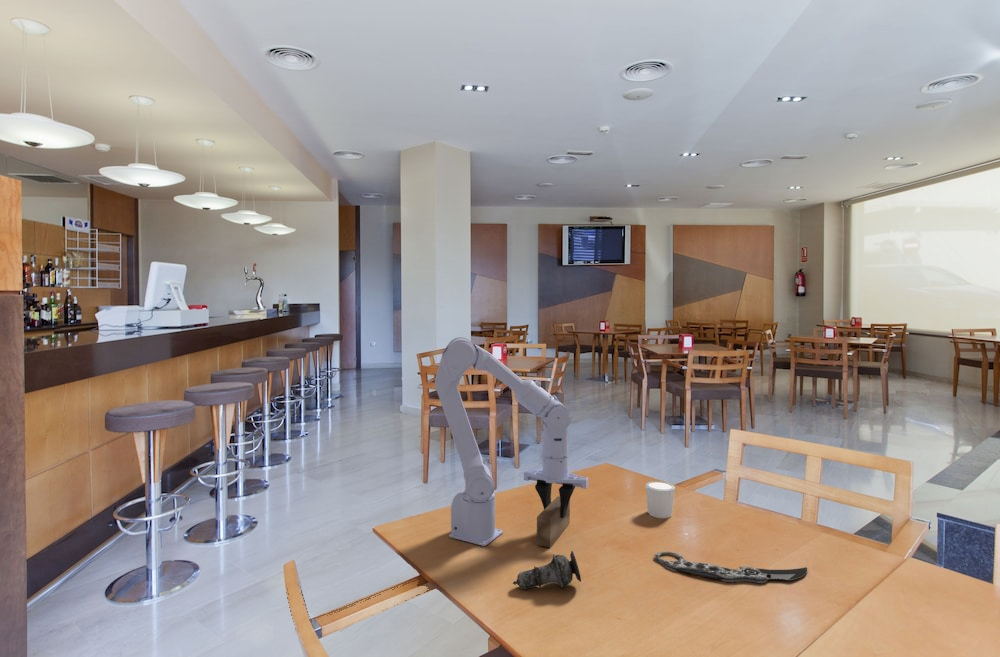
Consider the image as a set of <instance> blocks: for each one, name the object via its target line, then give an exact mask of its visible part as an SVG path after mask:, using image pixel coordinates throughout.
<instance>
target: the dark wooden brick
mask: <svg viewBox="0 0 1000 657" xmlns="http://www.w3.org/2000/svg"><path fill="white" fill-rule="evenodd" d="M570 500H571V499H570ZM570 500H569V503H568V507H567V512H566V516H565V517H564V518H561V516H560V506H561V503H560V495H558V496H556V497H555V498H554V499H553V500H551V503H550V504H549V505H548V506H547V507H546V508H545V509H544V508H543V511H541V512H540V513H539V514H538V515H537V517H536V545H537V546H540V547H546V548H551V547H552V546H553V544H555V542H556V541H557V540H558V539H559V537H560V536H561V535H562V534H563V533H564V531H565V530H566V529H567V528H568V526H569V525H570V524H569V523H571V522H570V518H571V517H570V514H571V512H570V511H571V508H570V507H571V504H570Z"/></svg>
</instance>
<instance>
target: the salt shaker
mask: <svg viewBox="0 0 1000 657" xmlns="http://www.w3.org/2000/svg"><path fill="white" fill-rule="evenodd" d="M569 556H570V560H569V558H567V556H565V555H562V554H556V555H555V554H554V553H553V554H552V560H551V561H550V562H548V563H547V564H544V565H540V566H536V565H534V566H533V567H534V568H531V569H528V570H525V571H521V572H519V573H518V574H517V578H516V580H515V581H513V582H512V584H513V585H517V586H519V588H520V589H521V590H527V589H531V588H535V587H539V588H541V587H542V586H543V585H544V586H545V585H547V584H555V583H556V584H558V585H559V586H560V588H561V589H564V587H566V586H569V584H571V583H572V580H573V578H574V577H573V576H574V575H575V578H576V580H577V581H578V582H582V579H581V578H582V577H581V574H580V569H579V565H578V561H577V559H576V556H575V553H574V551H573V550H571V551H570V555H569Z"/></svg>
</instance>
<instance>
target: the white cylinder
mask: <svg viewBox="0 0 1000 657" xmlns="http://www.w3.org/2000/svg"><path fill="white" fill-rule="evenodd" d="M675 490H676V487H675V485H674V484H672V483H670V482H666V481H658V480H657V481H656V480H655V481H648V482H646V483H645V494H646V505H647V513H649V514H650V515H649V514H648V515H649V516H651V517H652V518H657V519H669V518H671V517H672V516H673V508H674V499H675Z"/></svg>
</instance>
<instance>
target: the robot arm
mask: <svg viewBox="0 0 1000 657" xmlns="http://www.w3.org/2000/svg"><path fill="white" fill-rule="evenodd" d="M441 353H442V354H441V356H440V361H439V365H438V367H437V370H436V371H437V372H436V375H435V378H434V387H435V390H436V392H437V393H436V394H437V395H438V398H439V402H440V404H441V406H442V409H443V410H442V411H443V413H444V415H445V419H446V422H447V425H448V428H449V431H450V433H451V436H452V439H453V443H454V445H455V448H456V451H457V453H458V456H459V457H458V458H459V459H460V463H461V468H462V470H463V479H464V484H465V486H464V488H465V489H464V491H462V492H458V493H456V495H455V496H454V497H453V499H452V502H451V506H450V528H451V529H450V533H449V534H448V536H449V538H451V539H456V540H459V541H463V542H467V543H471V544H475V545H479V546H482V547H486V546H487V545H489V544H490V543H491V542H493V541H494V540H495V539H497V538H498V537H500V535H501V534H503V533H504V531H503V529H499V528H496V494H495V489H496V487H495V481H494V479H493V475H492V470H491V467H490V466H489V465H488V463H487V462H485V461H484V459H483V456H482V454H481V451H480V448H479V446H478V443H477V440H476V438H475V435H474V430H473V429H472V425H471V422H470V419H469V417H468V413H467V410H466V408H465V406H464V402H463V399H462V395H461V393H460V391H459V390H460V389H459V387H458V384H459V382H460V381H461V379H462V378H463V376H464V374H465V373H466V372H467V371H468V370H470V368H471V367H473V370H475V371H486V372H487V373H488V374H490V375H492V376H493V377H495V379H497V380H499V381H500V382H501V383H502V384H504V385H505V386H506V387H508V388H509V389H511V390H512V391H513V392H514V393H513V394H514V400H515V401H516V402H518V403H519V405H521V406H523V407H524V408H525V409H527V410H528V411H529V412H530V413H531V414H533V415H534V416H536V417H537V418H540V420H541V421H542V422H543V424H542V425H543V427H542V469H541V470H540V469H537V470H536V469H525V471H523V481H527V482H528V481H535V482H536V484H535V485H534V487H535V488H534V489H535V491H536V492H537V494H538V497H540V501H541V503H542V506H543V510H544V509H545V508H546V507H547V506H548V505H549V504H550V503H551V502H552V486H553V484H555V485H562V486H560V487H559V488H558V492H559V494H558V495H559V497H560V503H561V506H560V516H561V518H564V517H565V516H566V512H567V507H568V503H569V500H571V498H572V495H573V493H574V490H575V488H576V487H577V488H581V489H584V490H585V489H587V488H588V487H589V477H588V476H581V475H577V474H574V473H570V472H569V435H568V434H569V426H571V422H572V420H573V419H572V416H571V412H570V410H569V409H568V407H566V406H565V405H564V404H563V403H561V401H560V400H558V397H557V396H556V395H555V394H550V393H549V392H548V391H547V390H545V389H544V388H543V387H541V386H542V383H540V382H539V380H533V379H531V378H529V379H521V377H520V376H518V375H517V374H516V373H515V372H513V370H511V369H510V368H508V367H507V365H505V364H504V363H503V362H502V361H500V360H499V359H498V358H497V357H496V356H495V355H493V354H492V353H490V352H489V351H487V350H486V349H484V348H483V347H481V346H479V345H477V344H473V343H472V341H471V340H470V339H468V338H466V337H455V338H453V339H452V340H450V342H449V343H448V344H447V345H446V347H445V348H444V350H443V351H442V352H441Z"/></svg>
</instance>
